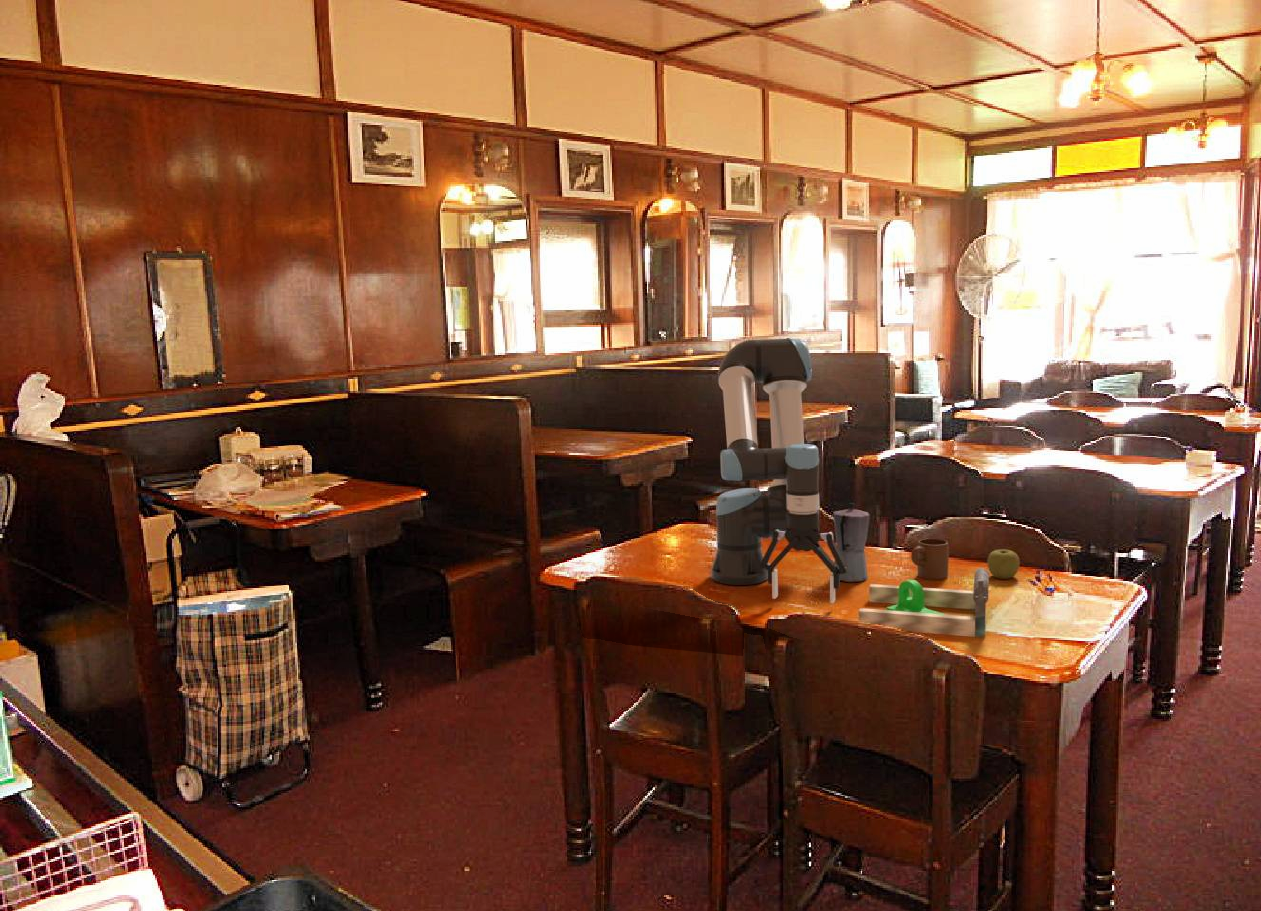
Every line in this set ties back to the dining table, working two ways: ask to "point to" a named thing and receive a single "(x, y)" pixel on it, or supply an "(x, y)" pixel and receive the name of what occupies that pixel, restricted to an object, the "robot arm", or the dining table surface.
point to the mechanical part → (911, 599)
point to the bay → (936, 599)
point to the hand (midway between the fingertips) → (803, 599)
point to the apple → (1003, 563)
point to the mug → (931, 559)
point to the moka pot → (852, 541)
